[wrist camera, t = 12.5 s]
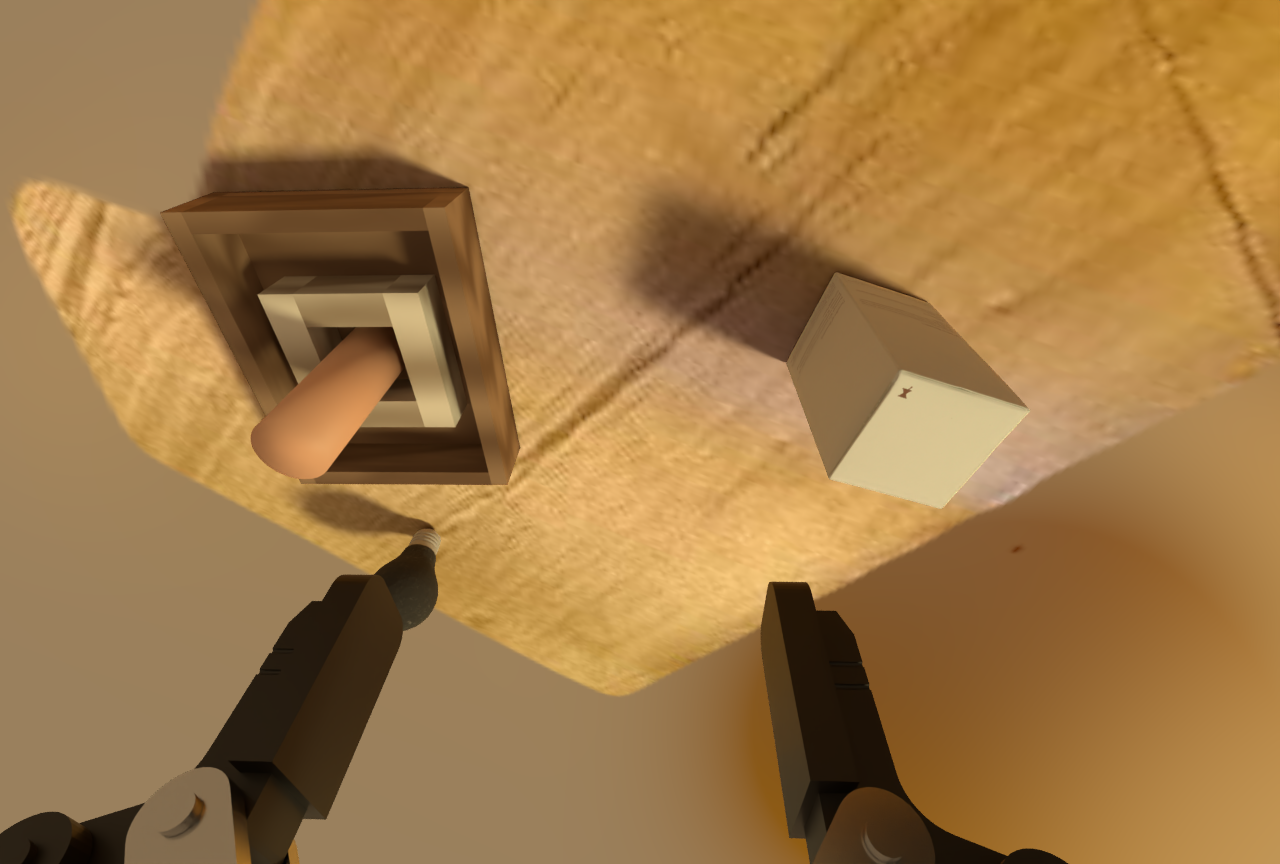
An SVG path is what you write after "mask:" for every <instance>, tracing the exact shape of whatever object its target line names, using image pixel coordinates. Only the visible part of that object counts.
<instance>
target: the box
mask: <svg viewBox="0 0 1280 864" xmlns="http://www.w3.org/2000/svg"><path fill="white" fill-rule="evenodd" d="M160 214H161V216H162V218H163V220H164V222H165V224H166V226H167V227H168V229H169V231H170V233H171V235H172V237H173V239H174V241H175V243H176V245H177V247H178V249H179V250H180V252H181V254H182V256H183V258H184V260H185V262H186V264H187V266H188V268H189V270H190V272H191V273H192V275H193V277H194V279H195V281H196V283H197V285H198V287H199V289H200V291H201V293H202V295H203V296H204V298H205V300H206V302H207V304H208V306H209V308H210V310H211V312H212V314H213V316H214V318H215V319H216V321H217V323H218V325H219V327H220V329H221V331H222V333H223V335H224V337H225V339H226V341H227V342H228V344H229V346H230V348H231V350H232V352H233V354H234V356H235V358H236V360H237V362H238V363H239V365H240V367H241V369H242V371H243V373H244V375H245V377H246V379H247V381H248V383H249V385H250V386H251V388H252V390H253V392H254V394H255V396H256V398H257V400H258V402H259V404H260V406H261V408H262V409H263V411H264V413H265V415H266V416H267V415H268V414H269V413H270V412H271V411H272V410H273V409H274V408H275V407H276V406H277V405H278V404H279V403H280V402H281V401H282V400H283V399H284V398H285V397H286V396H287V395H288V394H289V393H290V392H291V391H292V390H293V389H294V388H295V387H296V386H297V385H298V384H299V383H300V382H301V381H302V380H303V379H304V378H305V377H306V376H307V375H308V374H309V373H310V372H311V371H312V370H313V369H314V368H315V367H316V366H317V365H318V364H319V363H320V362H321V361H322V360H323V359H324V358H325V357H326V356H327V355H328V354H329V353H330V352H331V351H332V350H333V349H334V348H335V347H336V346H337V345H338V344H339V343H340V342H341V341H342V340H344V339H345V338H346V337H347V336H348V335H349V334H350V333H351V332H352V331H353V330H354V329H355V328H356V327H393V329H394V332H395V335H396V338H397V341H398V344H399V348H400V351H401V354H402V357H403V360H404V363H405V368H404V369H403V370H402V372H401V373H400V374H399V376H398V377H397V378H396V380H395V381H394V382H393V384H392V385H391V386H390V388H389V389H388V390H387V392H386V393H385V394H384V396H383V397H382V398H381V400H380V401H379V402H378V404H377V405H376V406H375V408H374V409H373V410H372V412H371V413H370V414H369V416H368V417H367V418H366V420H365V421H364V422H363V424H362V425H361V426H360V428H359V429H358V430H357V432H356V433H355V434H354V436H353V437H352V438H351V439H350V441H349V442H348V443H347V445H346V446H345V447H344V449H343V450H342V451H341V453H340V454H339V455H338V457H337V458H336V459H335V461H334V462H333V463H332V465H331V466H330V467H329V469H328V470H327V471H326V472H325V473H324V474H323V475H321V476H319V477H317V478H313V479H299V480H300V482H301V484H446V485H508V482H509V479H510V476H511V473H512V470H513V467H514V464H515V461H516V458H517V455H518V452H519V449H520V445H519V440H518V435H517V430H516V425H515V420H514V415H513V410H512V405H511V400H510V395H509V390H508V385H507V379H506V374H505V369H504V364H503V359H502V354H501V349H500V344H499V339H498V334H497V329H496V324H495V319H494V314H493V309H492V304H491V299H490V294H489V288H488V283H487V278H486V273H485V268H484V263H483V258H482V253H481V248H480V243H479V238H478V233H477V228H476V223H475V218H474V213H473V208H472V202H471V197H470V192H469V187H462V188H412V189H361V190H311V191H260V192H213V193H210V194H208V195H205V196H202V197H200V198H197V199H195V200H192V201H189V202H187V203H184V204H181V205H179V206H177V207H173V208H171V209H168V210H165V211H163V212H160Z"/></svg>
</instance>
